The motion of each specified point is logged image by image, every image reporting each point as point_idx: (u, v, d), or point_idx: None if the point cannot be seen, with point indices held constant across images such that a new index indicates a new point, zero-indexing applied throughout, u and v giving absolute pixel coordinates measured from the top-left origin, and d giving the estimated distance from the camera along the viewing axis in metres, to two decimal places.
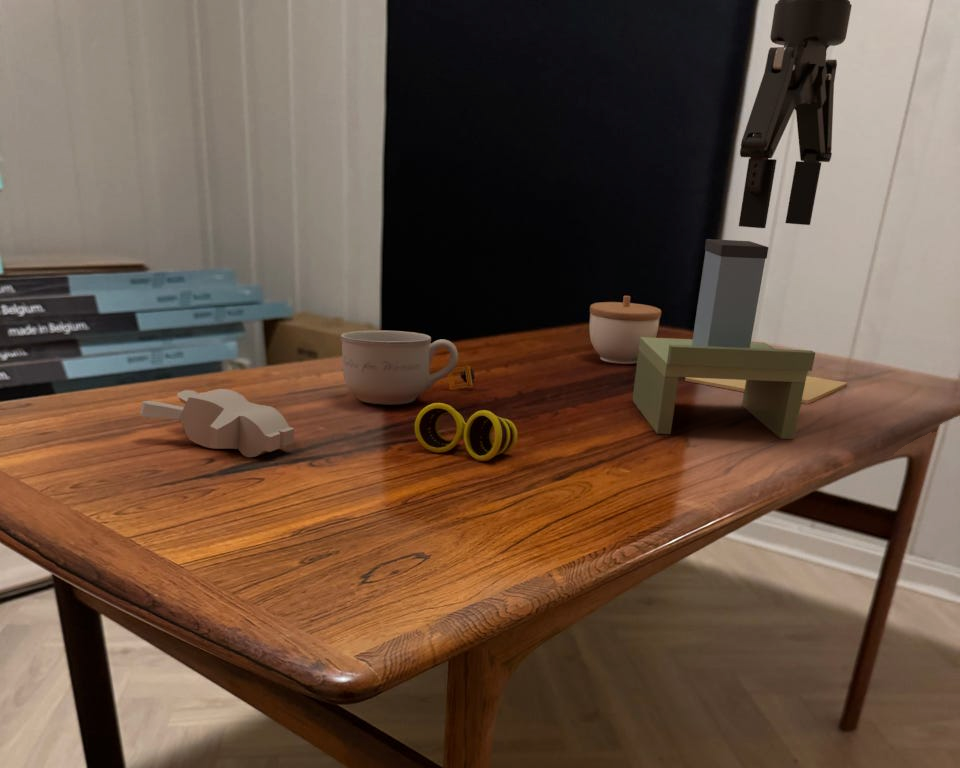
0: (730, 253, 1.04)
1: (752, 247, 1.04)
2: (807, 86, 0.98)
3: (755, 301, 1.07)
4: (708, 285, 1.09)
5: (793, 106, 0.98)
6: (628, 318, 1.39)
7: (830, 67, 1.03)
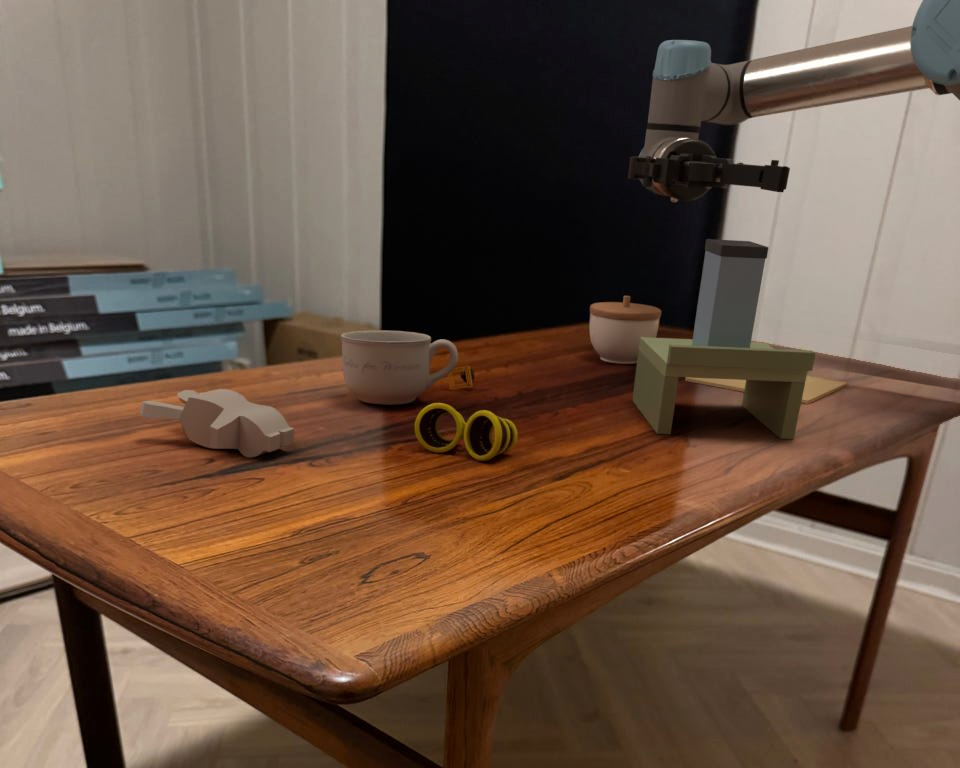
0: (730, 253, 1.04)
1: (752, 247, 1.04)
2: (683, 155, 1.23)
3: (755, 301, 1.07)
4: (708, 285, 1.09)
5: (673, 159, 1.21)
6: (628, 318, 1.39)
7: None
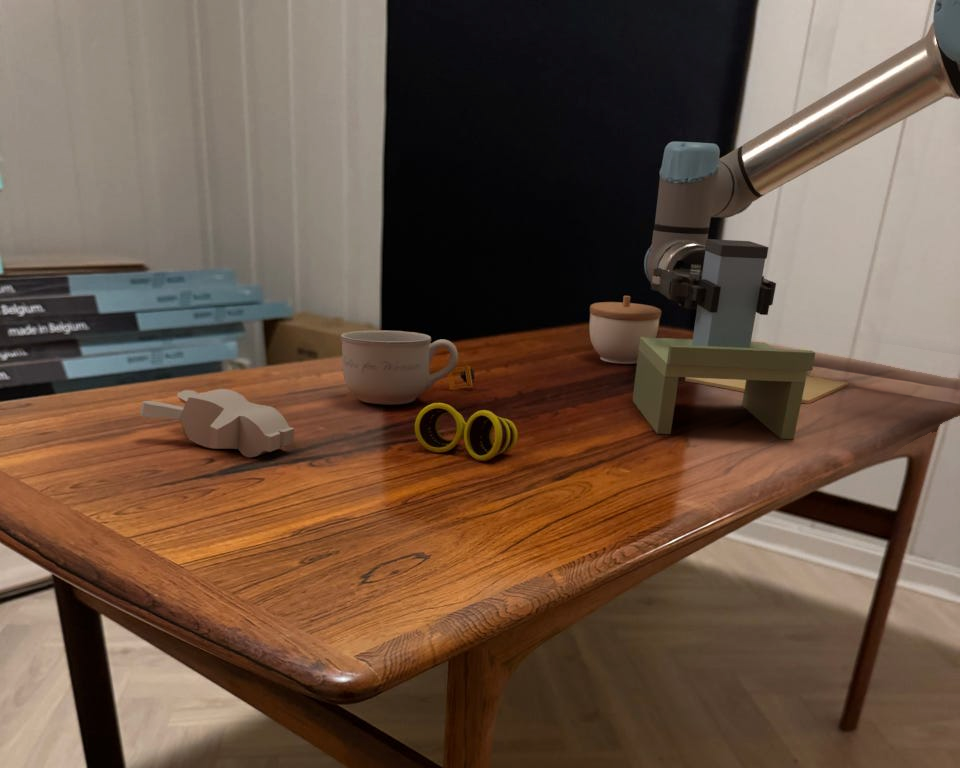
0: (730, 253, 1.04)
1: (752, 247, 1.04)
2: (697, 268, 1.18)
3: (755, 301, 1.07)
4: None
5: (696, 274, 1.16)
6: (628, 318, 1.39)
7: None
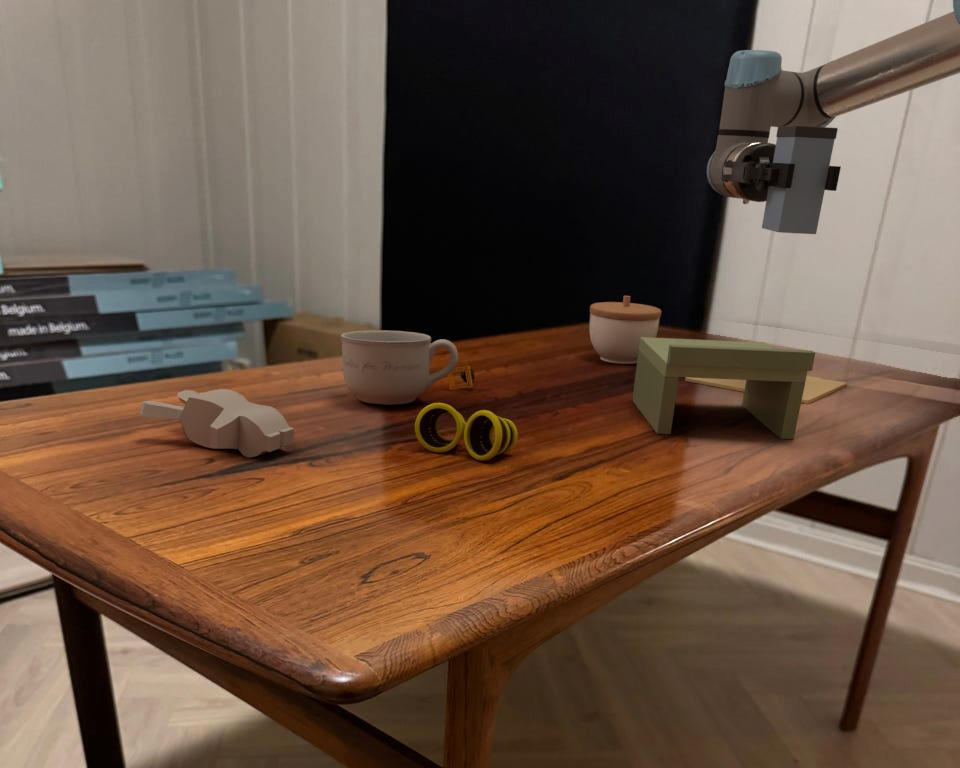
0: (803, 133, 1.16)
1: (823, 128, 1.16)
2: (765, 159, 1.29)
3: (824, 179, 1.19)
4: None
5: None
6: (628, 318, 1.39)
7: None
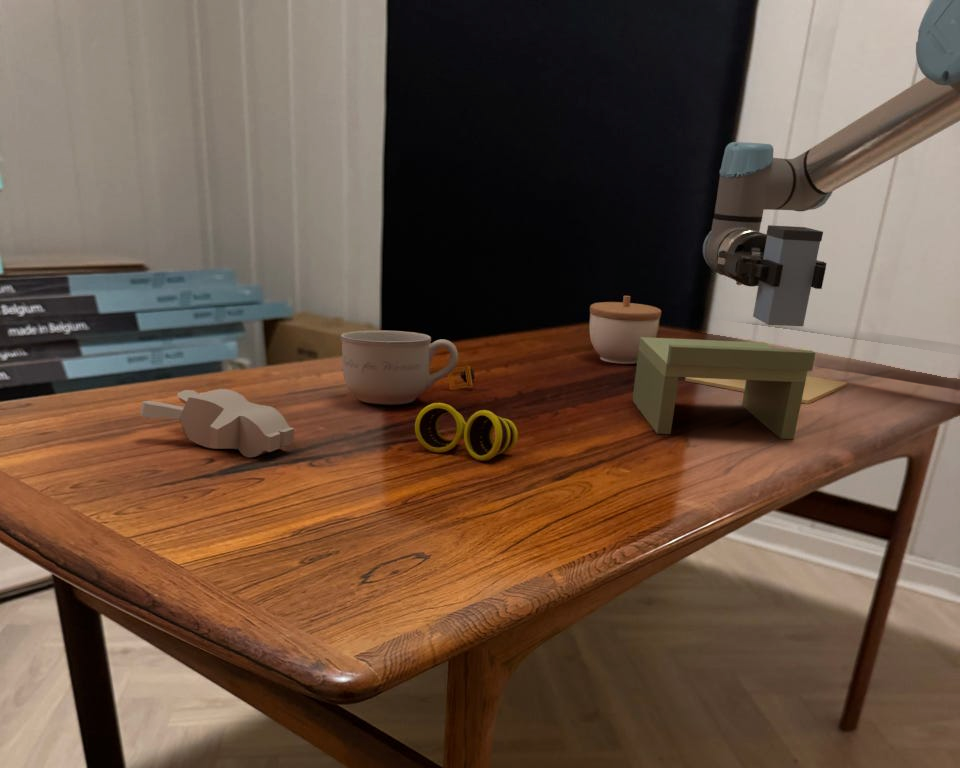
0: (791, 236, 1.25)
1: (809, 231, 1.24)
2: (757, 250, 1.38)
3: (810, 277, 1.27)
4: None
5: (757, 256, 1.36)
6: (628, 318, 1.39)
7: None
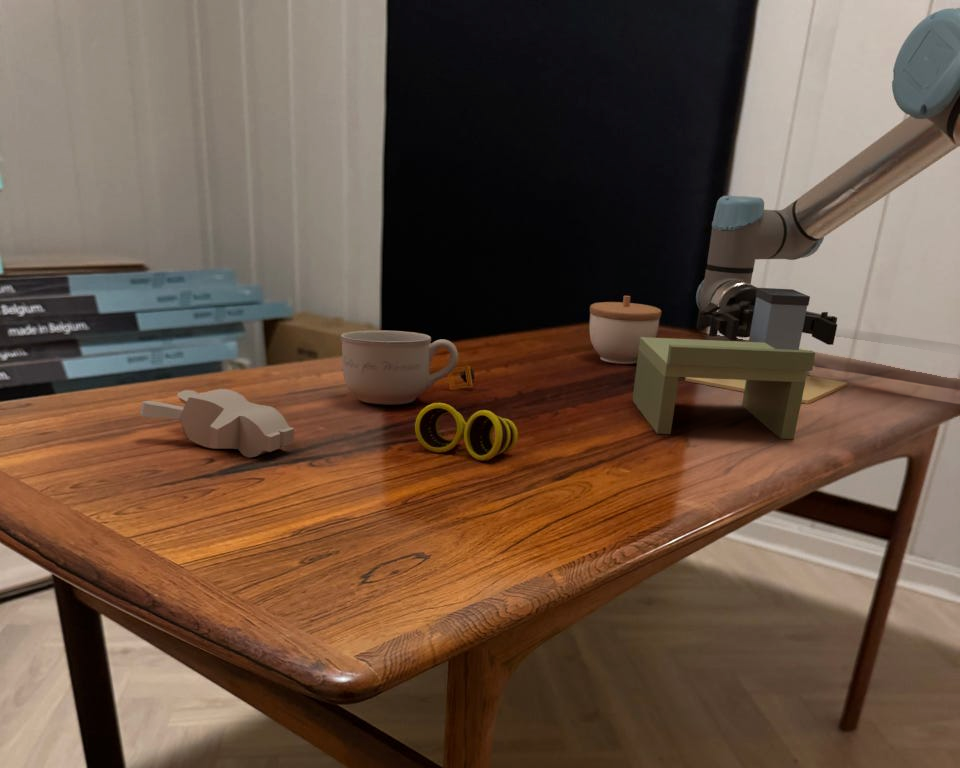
0: (779, 301, 1.28)
1: (797, 296, 1.28)
2: (742, 304, 1.41)
3: (798, 339, 1.31)
4: (759, 325, 1.33)
5: (735, 309, 1.40)
6: (628, 318, 1.39)
7: None
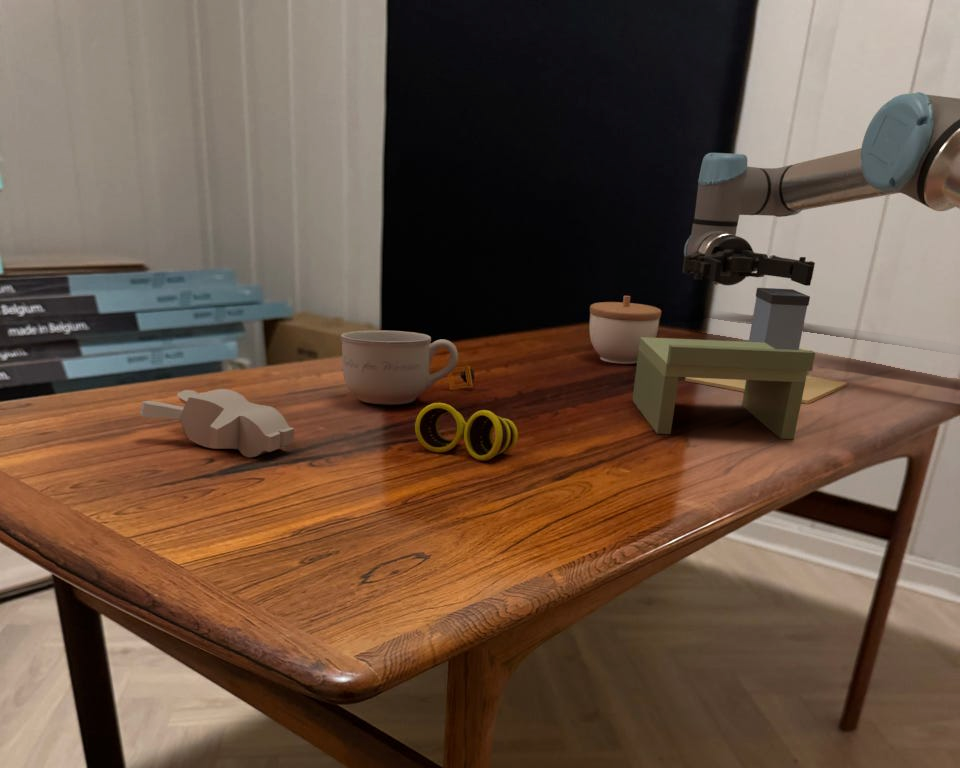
0: (779, 301, 1.28)
1: (797, 296, 1.28)
2: (726, 251, 1.50)
3: (798, 339, 1.31)
4: (759, 325, 1.33)
5: (719, 256, 1.49)
6: (628, 318, 1.39)
7: None
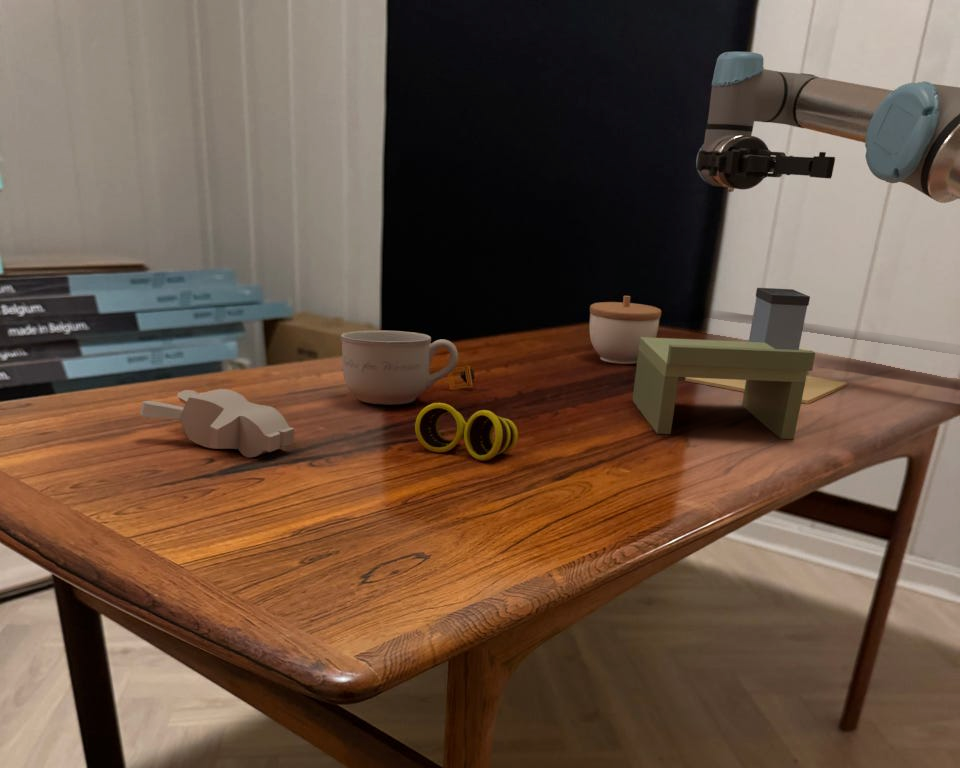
0: (779, 301, 1.28)
1: (797, 296, 1.28)
2: (742, 150, 1.44)
3: (798, 339, 1.31)
4: (759, 325, 1.33)
5: None
6: (628, 318, 1.39)
7: None
